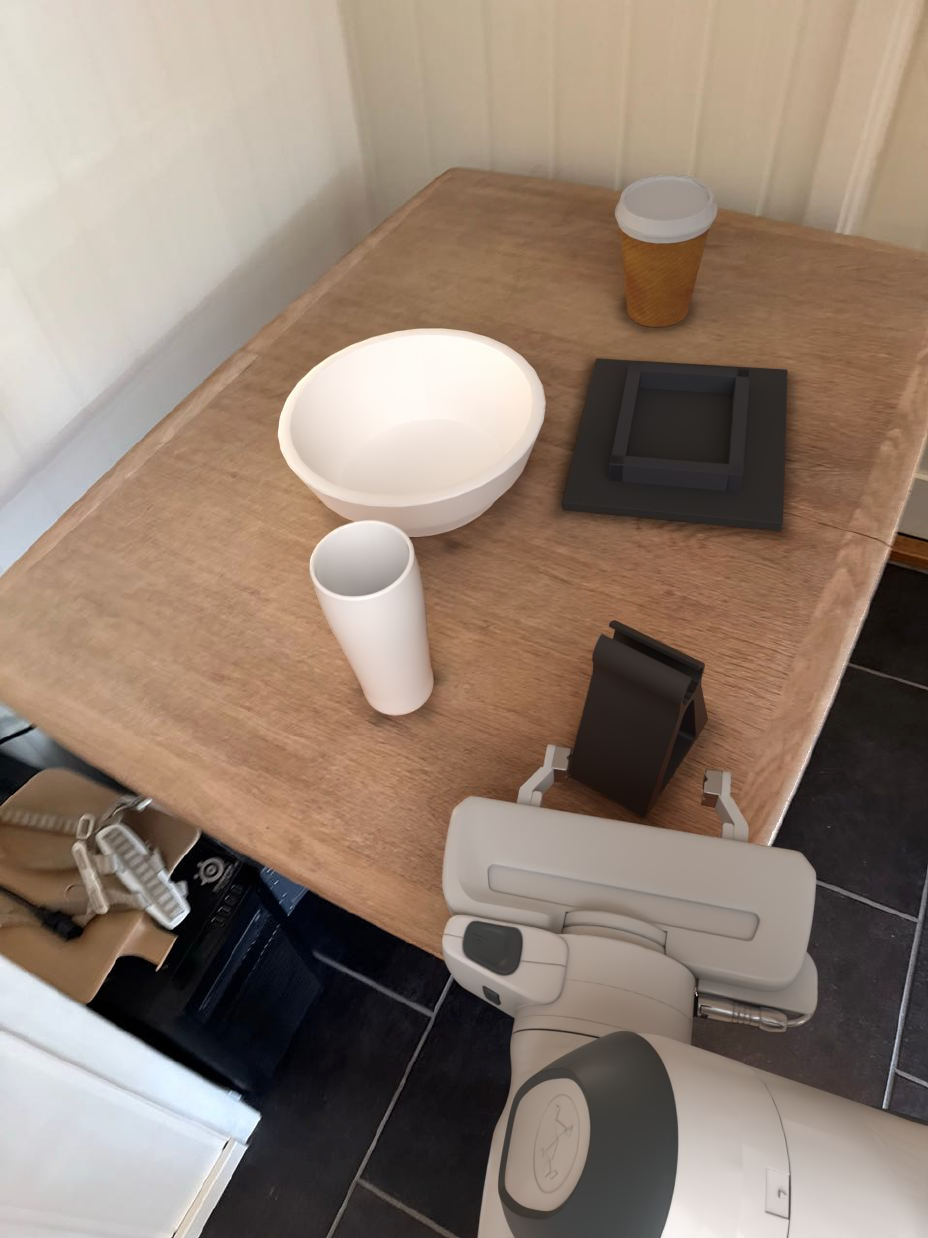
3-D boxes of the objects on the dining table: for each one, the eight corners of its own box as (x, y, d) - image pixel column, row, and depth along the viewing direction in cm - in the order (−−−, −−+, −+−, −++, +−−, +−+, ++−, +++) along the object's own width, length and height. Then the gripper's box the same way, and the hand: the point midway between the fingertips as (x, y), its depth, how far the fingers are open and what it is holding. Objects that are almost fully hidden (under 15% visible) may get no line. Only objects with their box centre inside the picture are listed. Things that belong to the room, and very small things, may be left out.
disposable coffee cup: (710, 333, 88) (726, 218, 79) (615, 340, 89) (619, 227, 80) (697, 280, 94) (711, 167, 85) (607, 287, 95) (611, 176, 86)
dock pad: (785, 377, 83) (791, 350, 81) (780, 531, 72) (787, 505, 69) (595, 366, 87) (596, 340, 85) (562, 510, 76) (561, 485, 73)
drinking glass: (403, 637, 69) (367, 502, 57) (463, 685, 66) (437, 552, 54) (337, 691, 67) (285, 562, 55) (396, 744, 63) (354, 619, 51)
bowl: (282, 579, 74) (253, 510, 67) (320, 406, 88) (299, 334, 81) (550, 571, 72) (547, 498, 65) (546, 394, 85) (544, 319, 79)
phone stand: (633, 683, 64) (642, 578, 55) (708, 722, 62) (731, 619, 52) (566, 776, 60) (564, 680, 51) (643, 821, 58) (656, 729, 48)
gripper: (832, 1027, 41) (829, 764, 49) (411, 938, 45) (471, 710, 53) (805, 1056, 46) (806, 813, 54) (428, 973, 50) (481, 760, 58)
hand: (637, 761), depth 53 cm, fingers open, 8 cm apart
